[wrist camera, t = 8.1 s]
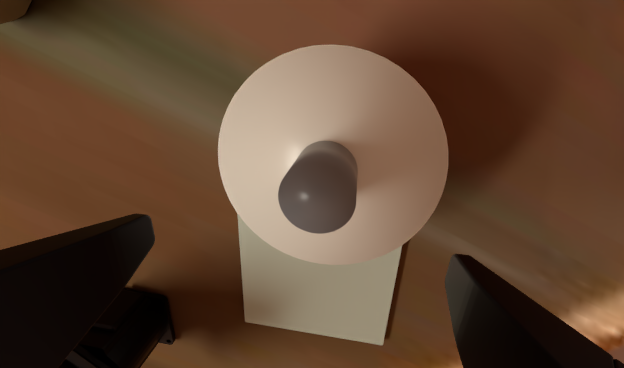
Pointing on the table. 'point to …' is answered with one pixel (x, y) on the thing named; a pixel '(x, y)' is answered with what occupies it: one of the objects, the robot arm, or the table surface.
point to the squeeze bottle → (12, 9)
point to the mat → (316, 291)
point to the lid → (333, 154)
